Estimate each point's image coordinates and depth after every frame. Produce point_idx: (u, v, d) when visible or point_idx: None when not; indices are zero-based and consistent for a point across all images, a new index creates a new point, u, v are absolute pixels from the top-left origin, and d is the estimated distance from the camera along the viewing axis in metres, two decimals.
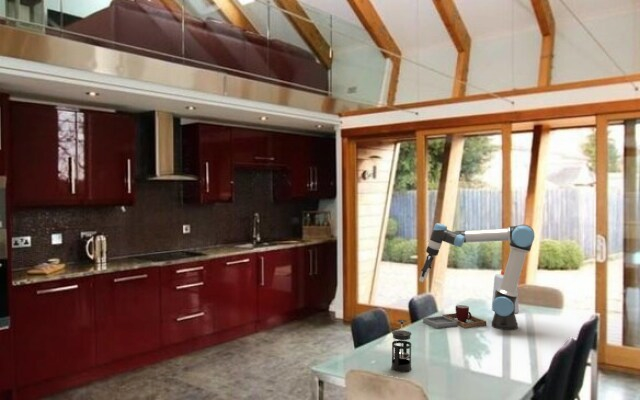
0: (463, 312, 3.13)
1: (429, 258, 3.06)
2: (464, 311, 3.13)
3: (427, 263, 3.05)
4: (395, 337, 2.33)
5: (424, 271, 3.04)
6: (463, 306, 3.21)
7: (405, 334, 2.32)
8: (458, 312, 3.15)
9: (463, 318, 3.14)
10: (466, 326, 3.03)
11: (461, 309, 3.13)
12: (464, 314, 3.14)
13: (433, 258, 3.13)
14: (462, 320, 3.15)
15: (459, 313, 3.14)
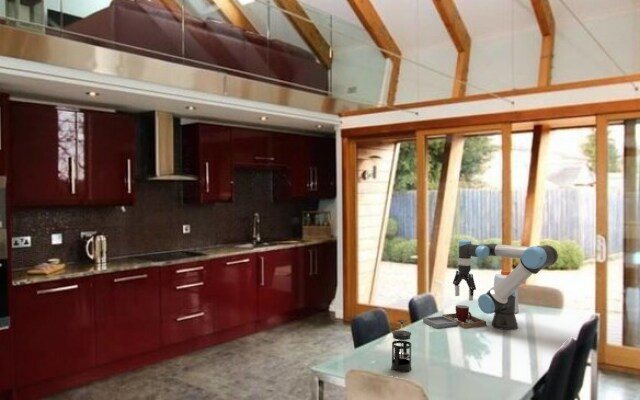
0: (463, 312, 3.13)
1: (471, 275, 3.10)
2: (464, 311, 3.13)
3: (472, 281, 3.09)
4: (395, 337, 2.33)
5: (474, 289, 3.07)
6: (463, 306, 3.21)
7: (405, 334, 2.32)
8: (458, 312, 3.15)
9: (463, 318, 3.14)
10: (466, 326, 3.03)
11: (461, 309, 3.13)
12: (464, 314, 3.14)
13: None
14: (462, 320, 3.15)
15: (459, 313, 3.14)
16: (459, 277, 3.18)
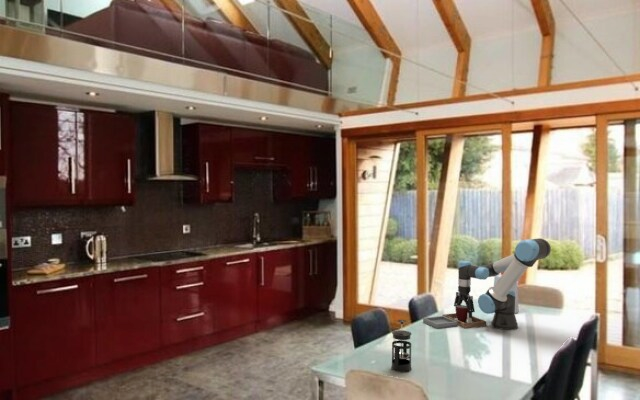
0: (463, 312, 3.13)
1: (471, 298, 3.10)
2: (464, 311, 3.13)
3: (472, 303, 3.09)
4: (395, 337, 2.33)
5: None
6: (463, 306, 3.21)
7: (405, 334, 2.32)
8: (458, 312, 3.15)
9: (463, 318, 3.14)
10: (466, 326, 3.03)
11: (461, 309, 3.13)
12: (464, 314, 3.14)
13: None
14: (462, 320, 3.15)
15: (459, 313, 3.14)
16: (459, 298, 3.18)
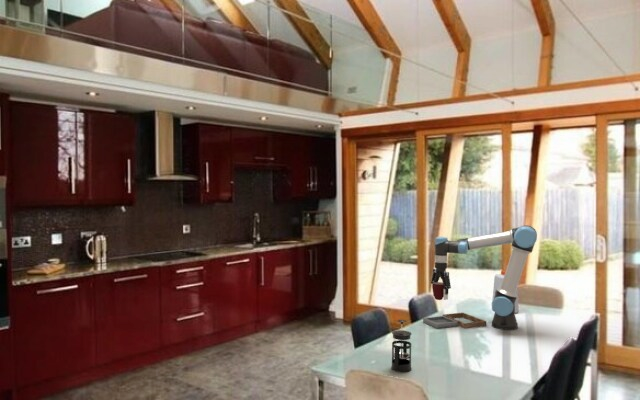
0: (439, 289, 3.08)
1: (447, 274, 3.04)
2: (440, 288, 3.08)
3: (448, 279, 3.04)
4: (395, 337, 2.33)
5: (449, 288, 3.03)
6: (440, 283, 3.15)
7: (405, 334, 2.32)
8: (434, 289, 3.09)
9: (439, 295, 3.08)
10: (466, 326, 3.03)
11: (437, 286, 3.08)
12: (440, 291, 3.08)
13: None
14: (438, 297, 3.09)
15: (435, 290, 3.09)
16: (436, 275, 3.12)
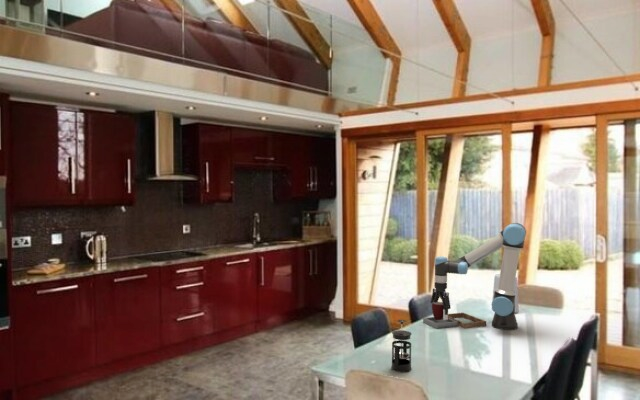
0: (439, 309, 3.08)
1: (447, 294, 3.05)
2: (440, 308, 3.08)
3: (448, 300, 3.04)
4: (395, 337, 2.33)
5: None
6: (440, 303, 3.15)
7: (405, 334, 2.32)
8: (434, 309, 3.10)
9: (439, 315, 3.09)
10: (466, 326, 3.03)
11: (437, 306, 3.08)
12: (440, 311, 3.08)
13: None
14: (438, 317, 3.09)
15: (435, 310, 3.09)
16: (436, 295, 3.12)
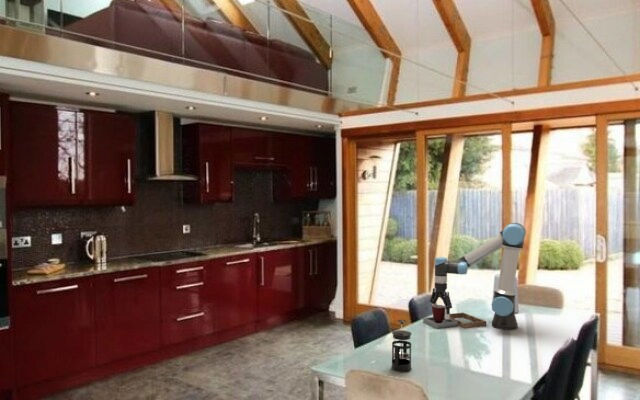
0: (439, 312, 3.08)
1: (447, 294, 3.05)
2: (440, 311, 3.08)
3: (448, 299, 3.04)
4: (395, 337, 2.33)
5: None
6: (440, 306, 3.15)
7: (405, 334, 2.32)
8: (434, 312, 3.10)
9: (439, 318, 3.09)
10: (466, 326, 3.03)
11: (437, 309, 3.08)
12: (440, 314, 3.08)
13: None
14: (438, 320, 3.09)
15: (435, 313, 3.09)
16: (436, 295, 3.13)
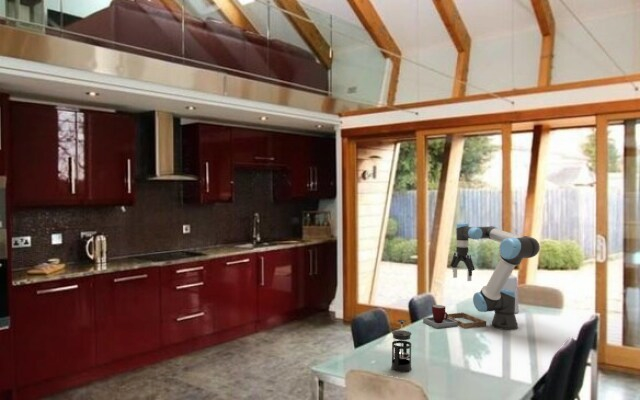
0: (439, 312, 3.08)
1: (470, 257, 3.20)
2: (440, 311, 3.08)
3: (471, 262, 3.19)
4: (395, 337, 2.33)
5: (472, 270, 3.17)
6: (440, 306, 3.15)
7: (405, 334, 2.32)
8: (434, 312, 3.10)
9: (439, 318, 3.09)
10: (466, 326, 3.03)
11: (437, 309, 3.08)
12: (440, 314, 3.08)
13: None
14: (438, 320, 3.09)
15: (435, 313, 3.09)
16: (457, 259, 3.27)
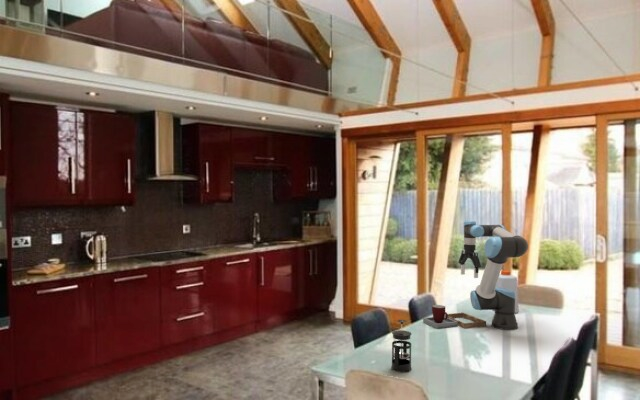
0: (439, 312, 3.08)
1: (476, 254, 3.25)
2: (440, 311, 3.08)
3: (477, 259, 3.24)
4: (395, 337, 2.33)
5: None
6: (440, 306, 3.15)
7: (405, 334, 2.32)
8: (434, 312, 3.10)
9: (439, 318, 3.09)
10: (466, 326, 3.03)
11: (437, 309, 3.08)
12: (440, 314, 3.08)
13: None
14: (438, 320, 3.09)
15: (435, 313, 3.09)
16: (464, 256, 3.33)
